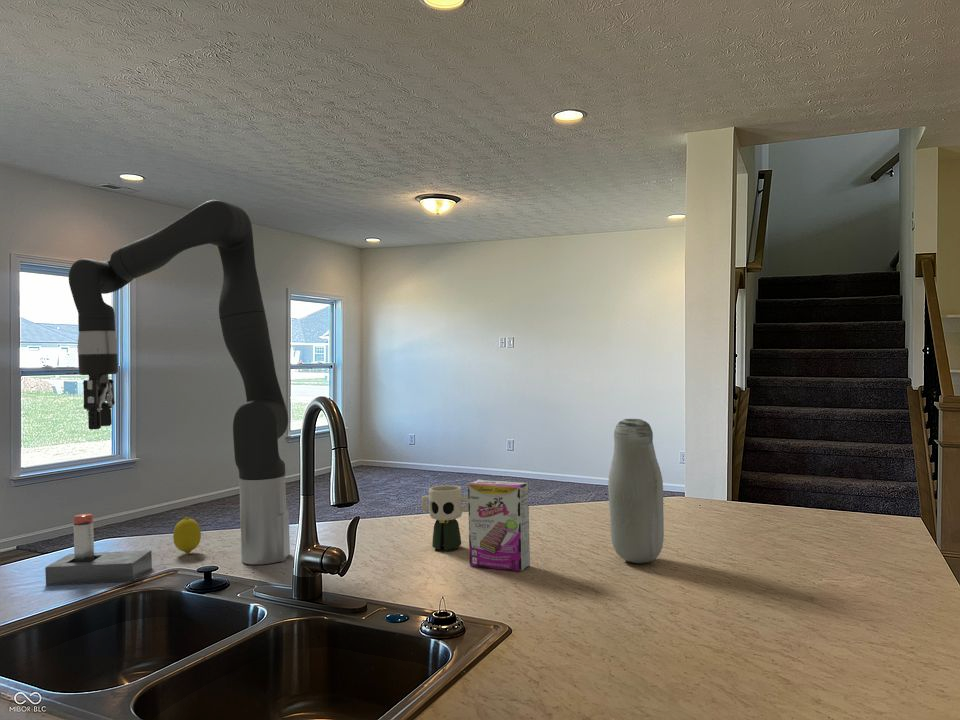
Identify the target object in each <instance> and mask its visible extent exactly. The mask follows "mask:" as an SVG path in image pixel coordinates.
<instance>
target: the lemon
mask: <svg viewBox="0 0 960 720" xmlns="http://www.w3.org/2000/svg"><path fill="white" fill-rule="evenodd" d="M172 536H173V538H172V539H173V543H174V546H175V547H176V548H177V549H178V550H179V551H181V552H183V553H184V554H187V555H189V554H191V552H192V551H193V550H195V549H196V548H198V546H199V544H200V542H201V540H202V539H201V538H202V531H201V528H200V525H199V523H198V522H197V521H196V520H195V519H193V518H190V517H189V516H185V517H183V519H181V520H180V521H178V522H177V523H176V525H175V526H174V530H173V535H172Z"/></svg>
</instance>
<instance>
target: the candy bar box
mask: <svg viewBox="0 0 960 720" xmlns="http://www.w3.org/2000/svg"><path fill="white" fill-rule="evenodd" d="M467 494H468V495H467V497H468V506H469V512H468V535H469V537H468V540H469V543H468V545H469V550H468V551H469V566H470V567H476V568H487V569H495V570H504V571H511V572H524V571H525V569H526V568H528V567H529V566H530V565H531V555H530V554H531V553H530V551H531V550H530V511H529V509H530V508H529V505H530V504H529V503H530V502H529V496H530V495H529V494H530V493H529V483H528V482H522V481H521V482H519V481H505V480H504V481H501V480H490V479H475V480H474V481H473V480H472V481H471V482H469V483H467Z"/></svg>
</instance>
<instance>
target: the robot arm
mask: <svg viewBox="0 0 960 720" xmlns="http://www.w3.org/2000/svg"><path fill="white" fill-rule="evenodd" d="M253 234H254V233H253V226H252V222H251V219H250V217H249V215H248V213H247V211H245V210H244V209H243V208H241V207H239V206H237V205H235V204H232V203H230V202H227V201H224V200H219V199H211V200H207V201H205V202H204V203H201V204H200V205H198V206H196V207H195V208H193V209H192V210H190V211H189V212H187V213H185V214H184V215H183V216H181V217H179V218H178V219H176V220H175V221H173V222H171V223H170V224H169V225H167V226H165V227H162V228H161V229H159V230H158V231H156V232H153V233H151V234H150V235H147V236H144V237H143V238H139V239H138V240H135V241H133V242H130V243H128V244H126V245H124V246H120V247H119V248H117V249H115V250H114V251H112V253H111V255H110V259H108V260H103V261H102V260H97V259H91V258H80V259H77V260H75V261H74V262H73V264H72V265H71V266H70V269H69V271H68V284H69V288H70V289H69V290H70V293H71V295H72V298H73V302H74V305H75V308H76V310H77V313H78V314H77V315H78V317H77V319H78V320H77V321H78V337H77V338H78V339H77V358H78V361H77V362H78V363H77V364H78V374H79V375H80V376H89V377H88V379H86V380H83V383H82V385H83V388H82V389H83V409H84V410H86V412H87V415H88V417H87V419H88V423H87V424H88V429H89V430H91V431H92V430H100V429H101V428H102V427H110V426H112V421H113V419H112V408H113V406H115V402H116V401H115V389H114V387H115V386H114V378H109V375H116V374H118V373H119V361H118V359H119V358H118V356H119V355H118V340H117V336H116V335H117V334H116V316H115V315H116V314H115V310H114V307H113V306H111V305H110V304H107V303H106V302H105V301H104V299H103V296H102V295H104V294H111V293H114V292H116V291H119V290H120V289H122V288H124V287H125V286H126V285H128V284H129V283H130V282H132V281H133V280H134V279H137V278H140V277H142V276H145V275H147V274H150V273H152V272H154V271H157V270H159V269H160V268H162V267H164V266H165V265H166V264H168V263H169V262H170V261H171V260H172V259H174V258H175V257H176V256H177V255H179V254H181V253H183V252H184V251H186V250H189V249H191V248H196V247H199V246H204V245H209V244H211V245H213V246H216V247H217V248H218V249H217V250H218V253H219V255H220V256H219V257H220V261H221V264H222V271H223V272H222V273H223V277H222V278H223V281H222V286H221V291H220V296H219V301H218V315H219V317H218V318H219V321H220V326H221V332H222V337H223V341H224V344H225V347H226V349H227V351H228V353H229V354H230V357H231V358H232V360H233V362H234V364H235V366H236V367H237V370H238V372H239V373H240V376H241V379H242V382H243V387H244V392H245V398H246V402H245V403H243V404H241V405H240V406H239V407H238V409H237V410H236V411H235V413H234V417H233V421H232V434H233V435H232V436H233V451H234V462H235V465H236V467H237V470H238V478H239V481H238V482H239V485H238V487H239V515H240V517H239V518H240V546H241V547H240V549H241V550H240V553H241V555H240V556H241V562H242V563H244V564H247V565H268V564H274V563H278V562H285V561H286V560H287V558H288V557H289V556H290V554H291V552H290V551H291V545H290V544H291V543H290V513H289V509H288V508H287V493H286V487H287V486H286V464H285V462H284V461H283V459H281V457H280V453H279V439H280V438H281V437H282V436H283V435H284V434H285V433H286V431H287V429H288V426H289V414H288V410H287V406H286V403H285V400H284V396H283V394H282V390H281V387H280V386H281V385H280V384H279V383H280V382H279V380H278V377H277V372H276V368H275V360H274V355H273V354H274V353H273V349H272V343H271V338H270V332H269V331H270V330H269V325H268V320H267V313H266V311H265V306H264V302H263V296H262V292H261V285H260V281H259V277H258V273H257V267H256V265H257V264H256V259H255V258H256V256H255V248H254V247H255V246H254V235H253Z"/></svg>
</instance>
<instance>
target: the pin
mask: <svg viewBox="0 0 960 720" xmlns="http://www.w3.org/2000/svg"><path fill="white" fill-rule="evenodd" d="M72 519H73V520H72V523H73V525H72V526H73V552H74V553H73V554H74V559H75V563H80V562H92V561H94V553H95V536H94V534H95V533H94V514H92V513H82V514H77V515H74V516H73V517H72Z"/></svg>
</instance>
